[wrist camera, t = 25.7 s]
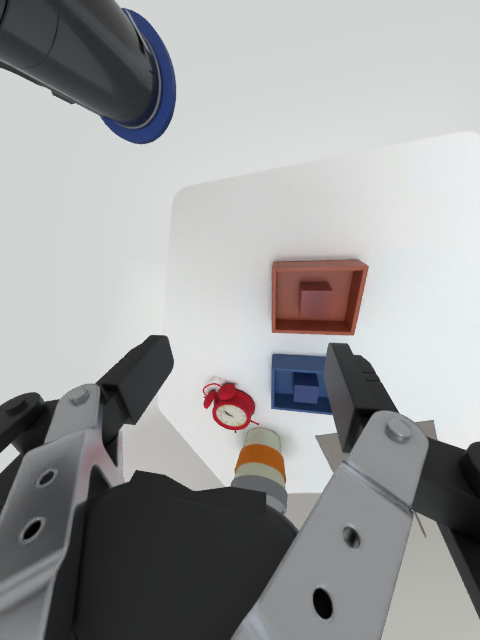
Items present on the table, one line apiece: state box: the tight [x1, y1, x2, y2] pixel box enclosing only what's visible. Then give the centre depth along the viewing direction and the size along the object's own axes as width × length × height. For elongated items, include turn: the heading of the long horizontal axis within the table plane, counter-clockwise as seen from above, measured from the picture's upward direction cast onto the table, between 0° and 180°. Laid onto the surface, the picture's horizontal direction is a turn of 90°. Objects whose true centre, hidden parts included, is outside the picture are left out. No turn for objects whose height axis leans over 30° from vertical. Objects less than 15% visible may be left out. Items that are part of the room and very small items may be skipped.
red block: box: [298, 282, 333, 318], centre depth 34 cm, size 4×4×4 cm
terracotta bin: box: [272, 260, 369, 335], centre depth 35 cm, size 13×11×4 cm
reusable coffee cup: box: [231, 428, 287, 516], centre depth 51 cm, size 13×13×15 cm
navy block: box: [292, 372, 319, 404], centre depth 43 cm, size 4×4×4 cm
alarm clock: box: [203, 383, 259, 433], centre depth 50 cm, size 10×6×15 cm
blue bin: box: [271, 354, 333, 415], centre depth 43 cm, size 13×11×4 cm
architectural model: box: [315, 420, 437, 538], centre depth 46 cm, size 21×25×14 cm
